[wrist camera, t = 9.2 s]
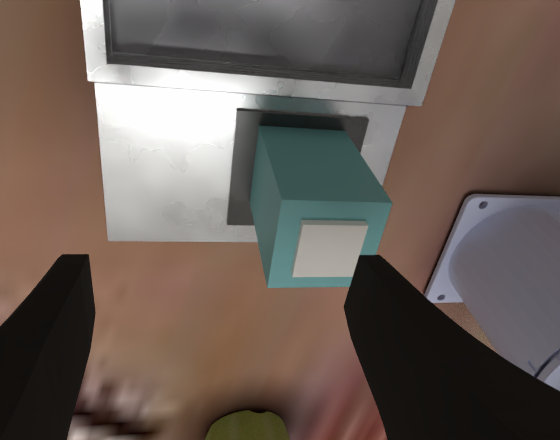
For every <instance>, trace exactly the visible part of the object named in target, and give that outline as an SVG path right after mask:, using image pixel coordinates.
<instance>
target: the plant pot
mask: <svg viewBox="0 0 560 440" xmlns="http://www.w3.org/2000/svg"><path fill="white" fill-rule="evenodd" d="M205 440H290V439H289V436H288V433H287V430H286V427H285V424H284V422H283V420H282V419H281V418H280V417H279V416H277V415H276V414H274V413H272V412H268V411H266V412H264V413H254V412H252V411H249V410H245V411H239V412H236V413H232V414H229V415H227V416H225V417H223V418H221V419H219V420H217V421H216V422H215V423H213V424H212V425H211V427H210V429H209V431H208V433H207V435H206V437H205Z"/></svg>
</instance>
